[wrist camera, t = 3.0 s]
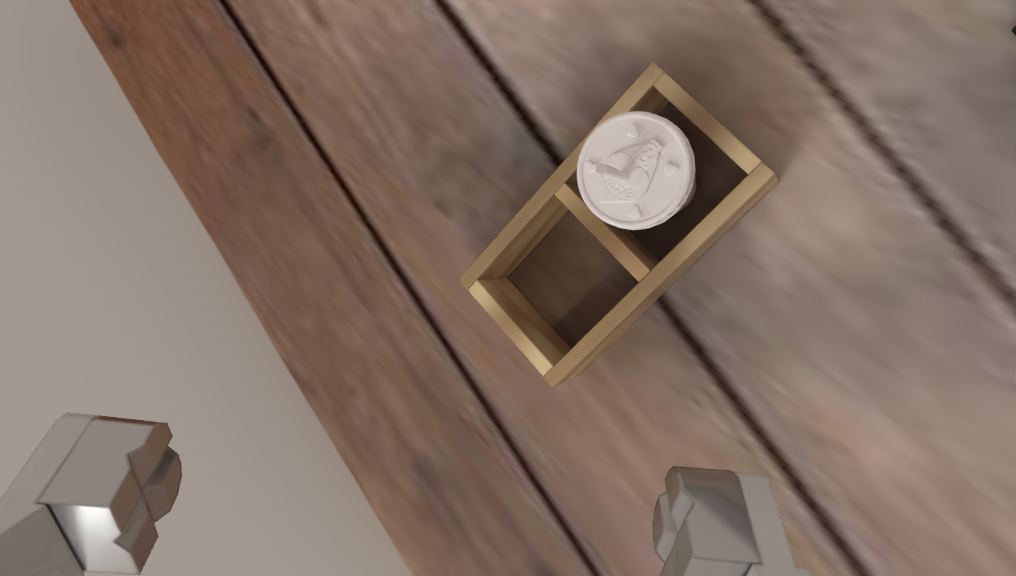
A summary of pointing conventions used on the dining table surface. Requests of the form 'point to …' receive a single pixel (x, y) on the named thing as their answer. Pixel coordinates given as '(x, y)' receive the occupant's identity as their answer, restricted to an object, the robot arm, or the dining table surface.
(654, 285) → the rack
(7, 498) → the robot arm
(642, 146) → the smoothie
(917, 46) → the dining table surface
